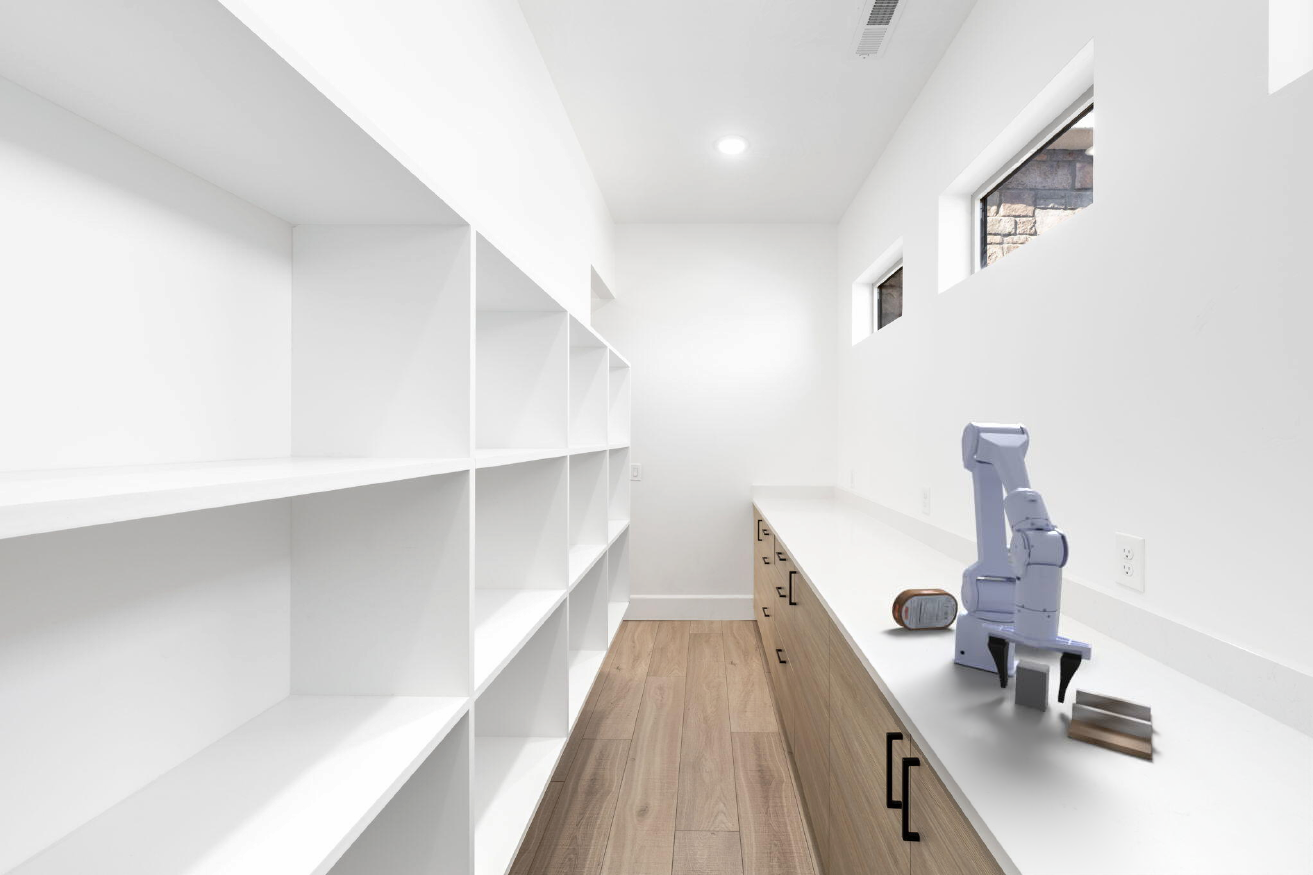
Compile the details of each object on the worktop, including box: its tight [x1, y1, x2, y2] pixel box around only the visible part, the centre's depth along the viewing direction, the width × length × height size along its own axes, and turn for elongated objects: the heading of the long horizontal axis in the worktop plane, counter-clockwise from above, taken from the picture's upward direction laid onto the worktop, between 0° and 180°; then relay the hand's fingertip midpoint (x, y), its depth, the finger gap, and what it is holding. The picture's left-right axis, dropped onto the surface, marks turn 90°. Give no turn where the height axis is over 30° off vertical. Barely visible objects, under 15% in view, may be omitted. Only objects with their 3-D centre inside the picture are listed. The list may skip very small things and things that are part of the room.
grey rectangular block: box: [1014, 658, 1051, 713], centre depth 97 cm, size 4×4×6 cm
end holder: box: [1067, 687, 1153, 761], centre depth 90 cm, size 9×18×3 cm, turn 142°
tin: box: [891, 588, 959, 631], centre depth 133 cm, size 15×3×8 cm, turn 105°
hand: (1031, 693), depth 97 cm, fingers open, 7 cm apart
